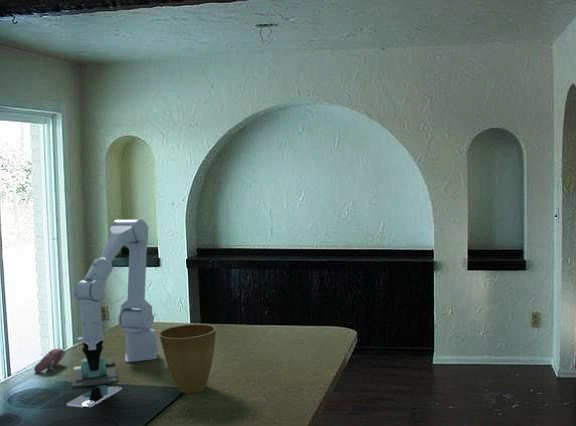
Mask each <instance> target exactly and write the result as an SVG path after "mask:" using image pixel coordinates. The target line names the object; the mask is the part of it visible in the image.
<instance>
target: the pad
mask: <svg viewBox="0 0 576 426" xmlns="http://www.w3.org/2000/svg"><path fill="white" fill-rule="evenodd" d="M117 375H118V374H117V368H116V367H111V368H107V374H106V375H104V376H99V377H92V378H82V375H81V372H77V373H74V372H73V378H72V385H71V386H72V389H74V388H81V387H82V386H83V387H90V386H100V385H105V384H114V383H118V376H117ZM83 387H82V388H83Z"/></svg>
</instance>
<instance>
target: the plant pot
mask: <svg viewBox="0 0 576 426" xmlns="http://www.w3.org/2000/svg"><path fill="white" fill-rule="evenodd" d="M216 329H217V328H216V327H215V326H214V325H213V324H212V325H211V324H204V323H203V324H202V323H195V324H194V323H193V324H181V325H176V326H172V327H168V328H166V329H163V330H161V331H160V332H159V338H160V342H161V348H162V351H163V355H164V358H165V362H166V365H167V367H168V370H169V373H170V375H171V378H172V379H173V383H174V385H175V387H176V389H177V390H178V392H179V393H183V394H194V393H199V392H201V391H203V390H205V389H206V388H207V384H208V381H209V377H210V374H211V369H212V366H213V365H212V364H213V359H214V354H215V347H216V345H215V344H216V334H217V333H216V331H217V330H216Z"/></svg>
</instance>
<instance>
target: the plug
mask: <svg viewBox="0 0 576 426" xmlns="http://www.w3.org/2000/svg"><path fill="white" fill-rule="evenodd" d="M106 359H107V357H104V356H100V360H99V369H98V371H90V368H89V364H88V361H87V358H83V359H81V360H80V365H78V366H73V374H74V373H79V372H81V375H82V378H92V377H99V376H104V375H106V374H107V369H110V368H116V362H108V363H107V360H106Z"/></svg>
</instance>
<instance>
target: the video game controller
mask: <svg viewBox="0 0 576 426" xmlns="http://www.w3.org/2000/svg"><path fill="white" fill-rule="evenodd" d="M65 355H66V351H65V350H64V349H61V348H59V347H57V348H54V349H51V350H49V351H48V353H46V354H45V356H43V357H42V359H41V360H40V361H39V362H38V363H37V364H36V365H35V366H34V369H33V370H34V372H35V373H37V374H38V373H41V372H44V371H45V370H47V371H51V370H52V369H53V367H55V368H56V367H58V365H59V364H60V362H61V361H62V360H63V359H64V357H65Z"/></svg>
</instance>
